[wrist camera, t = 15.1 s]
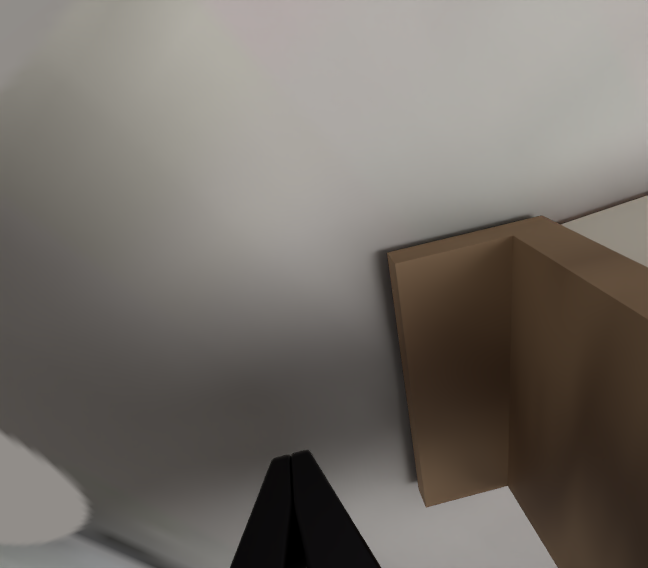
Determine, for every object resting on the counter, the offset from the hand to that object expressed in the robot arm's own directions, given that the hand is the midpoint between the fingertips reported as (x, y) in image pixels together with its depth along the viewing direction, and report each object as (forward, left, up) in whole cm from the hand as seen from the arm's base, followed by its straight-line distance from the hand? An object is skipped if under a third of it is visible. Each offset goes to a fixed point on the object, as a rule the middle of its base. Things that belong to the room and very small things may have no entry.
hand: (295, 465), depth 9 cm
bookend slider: (0, -5, -2) cm, 5 cm away
